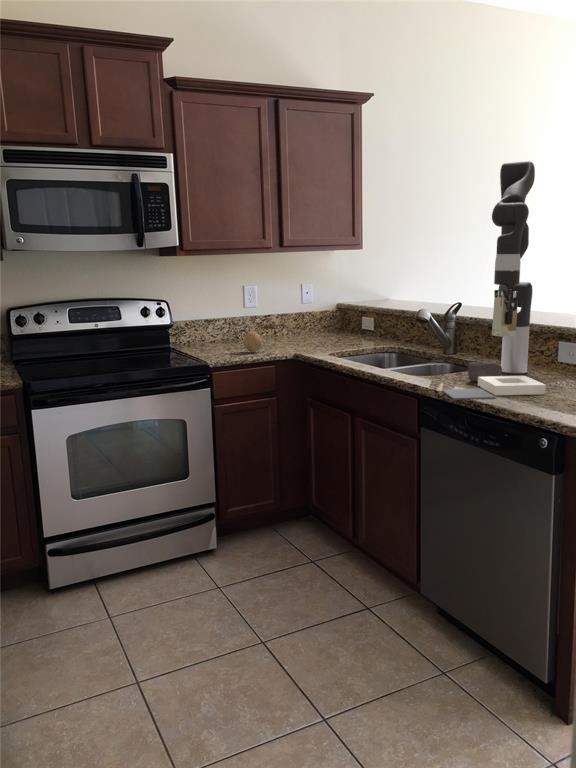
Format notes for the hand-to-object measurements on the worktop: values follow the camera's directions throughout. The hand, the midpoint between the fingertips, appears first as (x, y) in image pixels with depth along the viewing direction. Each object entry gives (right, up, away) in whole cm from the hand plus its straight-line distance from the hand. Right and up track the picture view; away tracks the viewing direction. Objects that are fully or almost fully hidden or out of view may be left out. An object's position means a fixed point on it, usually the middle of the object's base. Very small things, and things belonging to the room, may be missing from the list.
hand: (504, 323), depth 206 cm
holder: (+4, -21, +6) cm, 22 cm away
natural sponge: (-85, -5, +96) cm, 128 cm away
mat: (-12, -23, -1) cm, 25 cm away
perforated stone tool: (0, -18, +22) cm, 28 cm away
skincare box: (0, -4, +1) cm, 4 cm away
